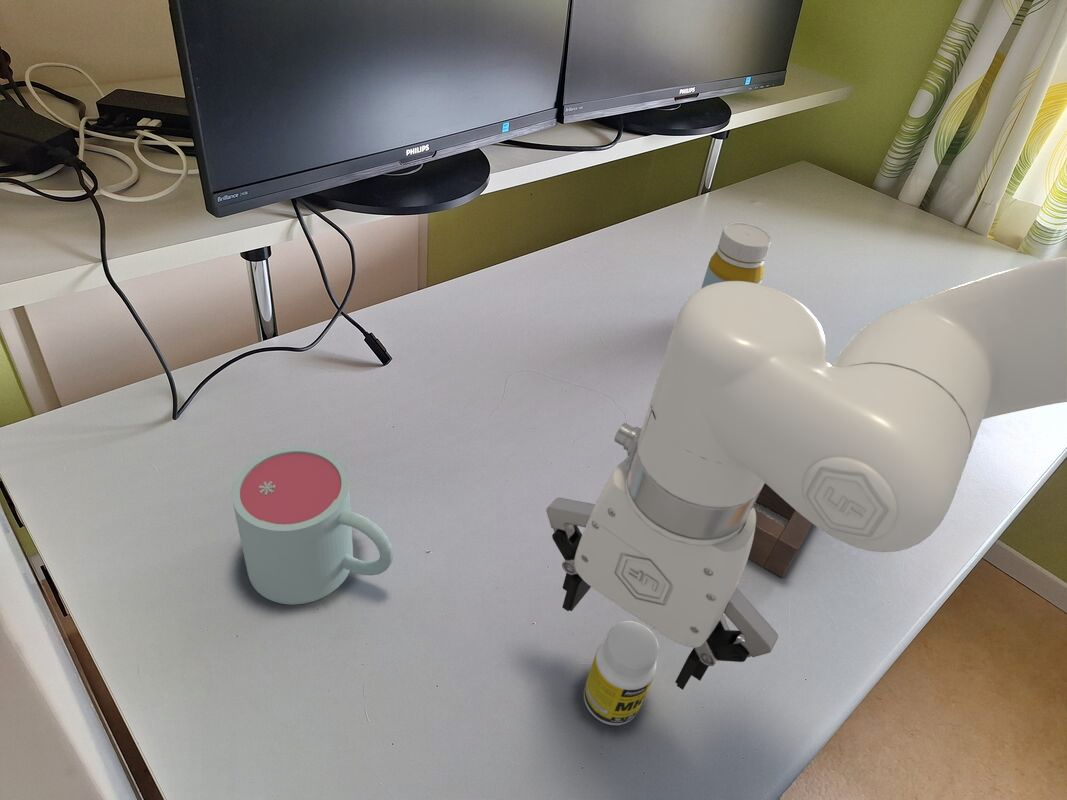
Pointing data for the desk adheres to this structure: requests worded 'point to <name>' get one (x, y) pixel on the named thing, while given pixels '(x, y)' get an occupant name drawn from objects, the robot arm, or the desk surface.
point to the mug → (300, 525)
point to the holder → (777, 534)
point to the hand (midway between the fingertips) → (630, 634)
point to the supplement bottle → (621, 673)
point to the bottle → (739, 254)
